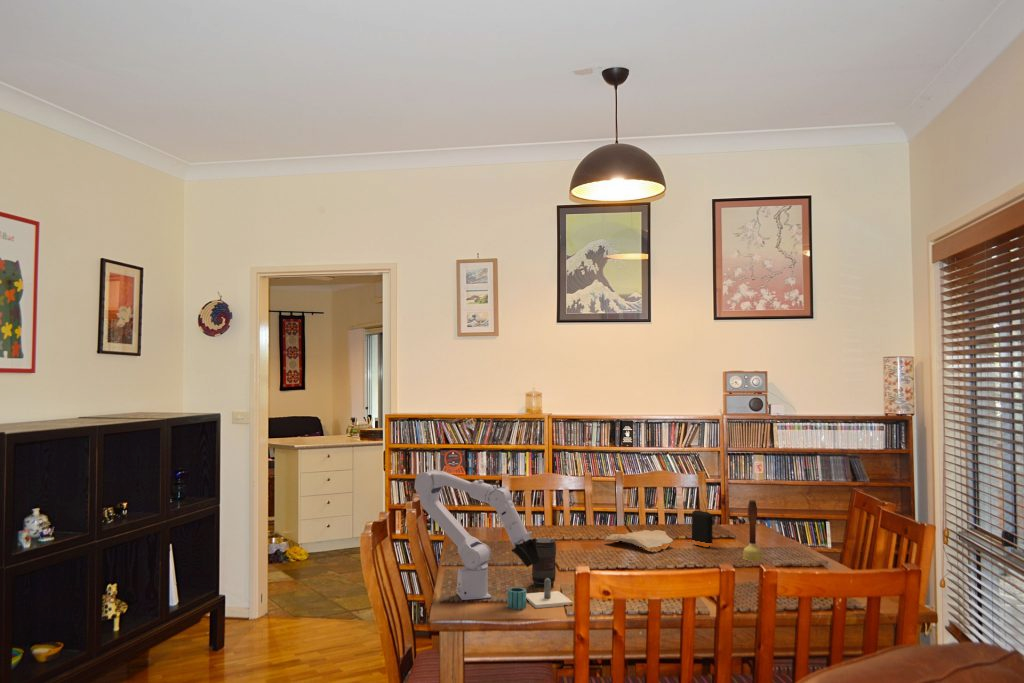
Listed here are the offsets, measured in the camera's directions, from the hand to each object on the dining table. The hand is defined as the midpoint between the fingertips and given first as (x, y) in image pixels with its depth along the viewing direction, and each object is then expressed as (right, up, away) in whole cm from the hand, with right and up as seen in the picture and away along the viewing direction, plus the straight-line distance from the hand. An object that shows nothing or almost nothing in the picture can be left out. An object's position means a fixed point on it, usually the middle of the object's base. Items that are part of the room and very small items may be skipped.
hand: (533, 564), depth 230 cm
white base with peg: (+4, -12, +2) cm, 13 cm away
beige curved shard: (+47, -17, +82) cm, 96 cm away
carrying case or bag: (+73, -17, +82) cm, 111 cm away
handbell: (+83, -16, +47) cm, 97 cm away
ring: (-5, -11, -4) cm, 13 cm away
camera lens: (+4, -13, +20) cm, 24 cm away
